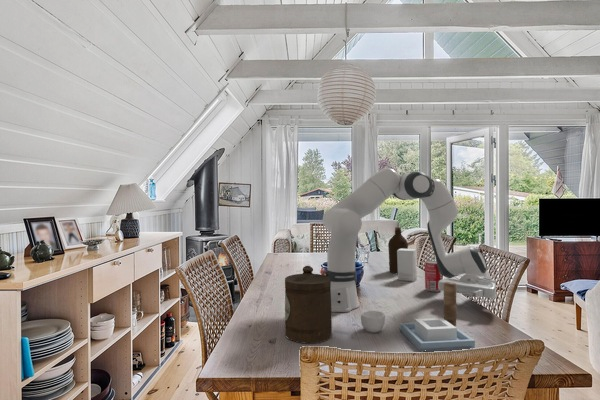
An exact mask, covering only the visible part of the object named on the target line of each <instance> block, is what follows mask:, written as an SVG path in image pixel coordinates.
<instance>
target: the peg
mask: <svg viewBox="0 0 600 400" xmlns="http://www.w3.org/2000/svg"><path fill="white" fill-rule="evenodd" d="M443 319H445V320H446V321H448V322H449V323H451V324H452V325H453V326H455V327H456V326H457V293H456V283H454V282H444V291H443Z"/></svg>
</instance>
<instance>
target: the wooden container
mask: <svg viewBox="0 0 600 400" xmlns="http://www.w3.org/2000/svg"><path fill="white" fill-rule="evenodd" d="M313 272H314V268H313V267H312V266H310V265H305V266H304V267H302V273H296V274H291V275H288V276H286V277H285V278H284V286H285V287H284V296H285V297H284V321H285V322H284V323H285V325H284V327H285V329H284V330H285V332H284V333H285V337H286V336H287V337H288V338H289V339H288V338H287V337H286V338H287V339H288V340H290V339H292V340H294V341H298V342H297V343H299V342H305V343H304V344H317V343H316V342H318V343H321V342H325V341H328V340H329V339H330V338H331V337H332V335H333V334H332V333H333V332H332V329H333V327H332V317H333V316H332V315H333V314H332V313H333V312H331V289H330V288H331V281H330V277H328V276H325V275H322V274H321V273H320V274H319V273H313ZM292 340H291V341H292ZM324 340H325V341H324ZM294 341H293V342H294Z"/></svg>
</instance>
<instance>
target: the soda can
mask: <svg viewBox="0 0 600 400" xmlns="http://www.w3.org/2000/svg"><path fill="white" fill-rule="evenodd" d="M442 276H443V275H441V274H440V272H439V270H438V267H437V262H436V260H426V261H425V264H424V289H425V290H426V291H428V292H433V293H437V292H441V290H439V289H438V282H439V281H440V280H443V279H442V278H443V277H442Z"/></svg>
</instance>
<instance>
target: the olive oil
mask: <svg viewBox="0 0 600 400" xmlns="http://www.w3.org/2000/svg"><path fill="white" fill-rule="evenodd" d="M408 243H409V242H408V241H407V239H406V238H405V237H404V236H403V235H402V227H399V226H396V227H394V234H393V236H392V237H391V238H390V239H389V240H388V243H387V244H388V246H387V247H388V249H387V250H388V268H389V269H388V270H389V273H391V274H396V273H397V275H398V263H397V250H399V249H401V248H402V249H409V244H408Z"/></svg>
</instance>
